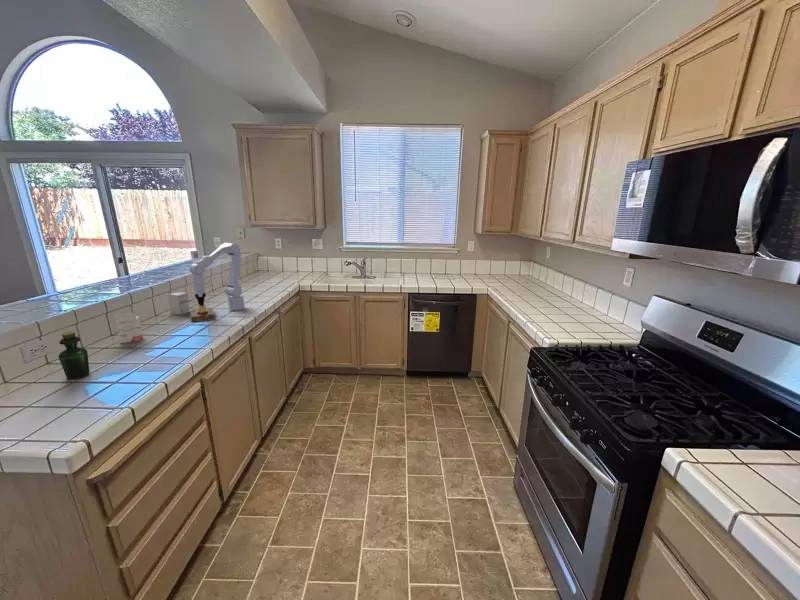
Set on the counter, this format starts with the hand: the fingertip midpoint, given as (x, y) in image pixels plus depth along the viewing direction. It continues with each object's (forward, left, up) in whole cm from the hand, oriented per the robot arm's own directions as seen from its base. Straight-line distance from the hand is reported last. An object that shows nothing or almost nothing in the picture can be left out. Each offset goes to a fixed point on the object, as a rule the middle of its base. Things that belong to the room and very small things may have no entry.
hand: (201, 305), depth 201 cm
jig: (0, -2, -8) cm, 8 cm away
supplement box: (+12, -17, -8) cm, 22 cm away
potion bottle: (+45, +60, -8) cm, 75 cm away
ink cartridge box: (+32, +25, -8) cm, 41 cm away
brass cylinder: (0, 0, -8) cm, 8 cm away
